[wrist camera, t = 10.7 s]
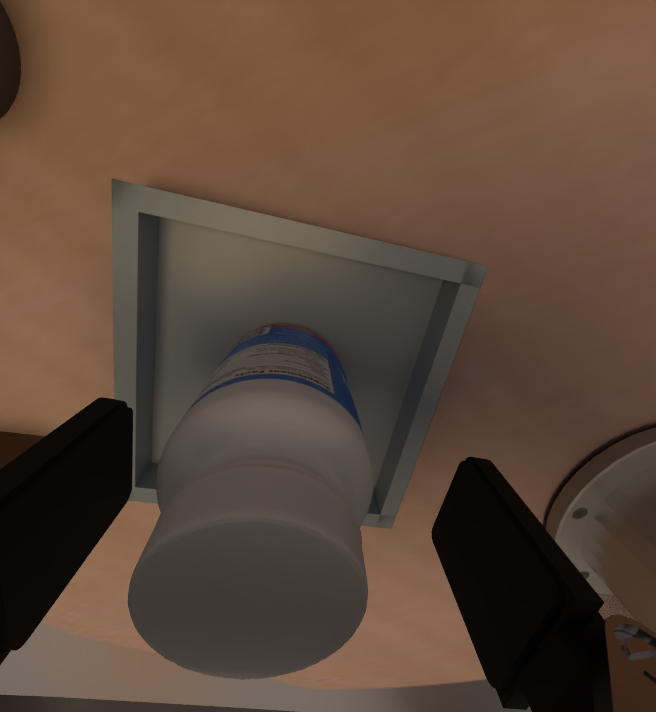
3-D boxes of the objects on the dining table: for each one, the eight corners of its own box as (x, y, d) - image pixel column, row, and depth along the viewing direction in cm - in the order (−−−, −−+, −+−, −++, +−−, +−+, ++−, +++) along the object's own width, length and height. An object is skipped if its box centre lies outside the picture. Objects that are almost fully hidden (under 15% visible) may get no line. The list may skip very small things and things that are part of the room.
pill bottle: (332, 435, 16) (369, 710, 7) (220, 422, 15) (87, 707, 6) (355, 329, 14) (449, 502, 5) (229, 309, 13) (59, 465, 4)
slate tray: (461, 261, 14) (488, 266, 12) (381, 495, 18) (391, 528, 16) (144, 188, 12) (111, 178, 10) (139, 466, 16) (115, 499, 14)
